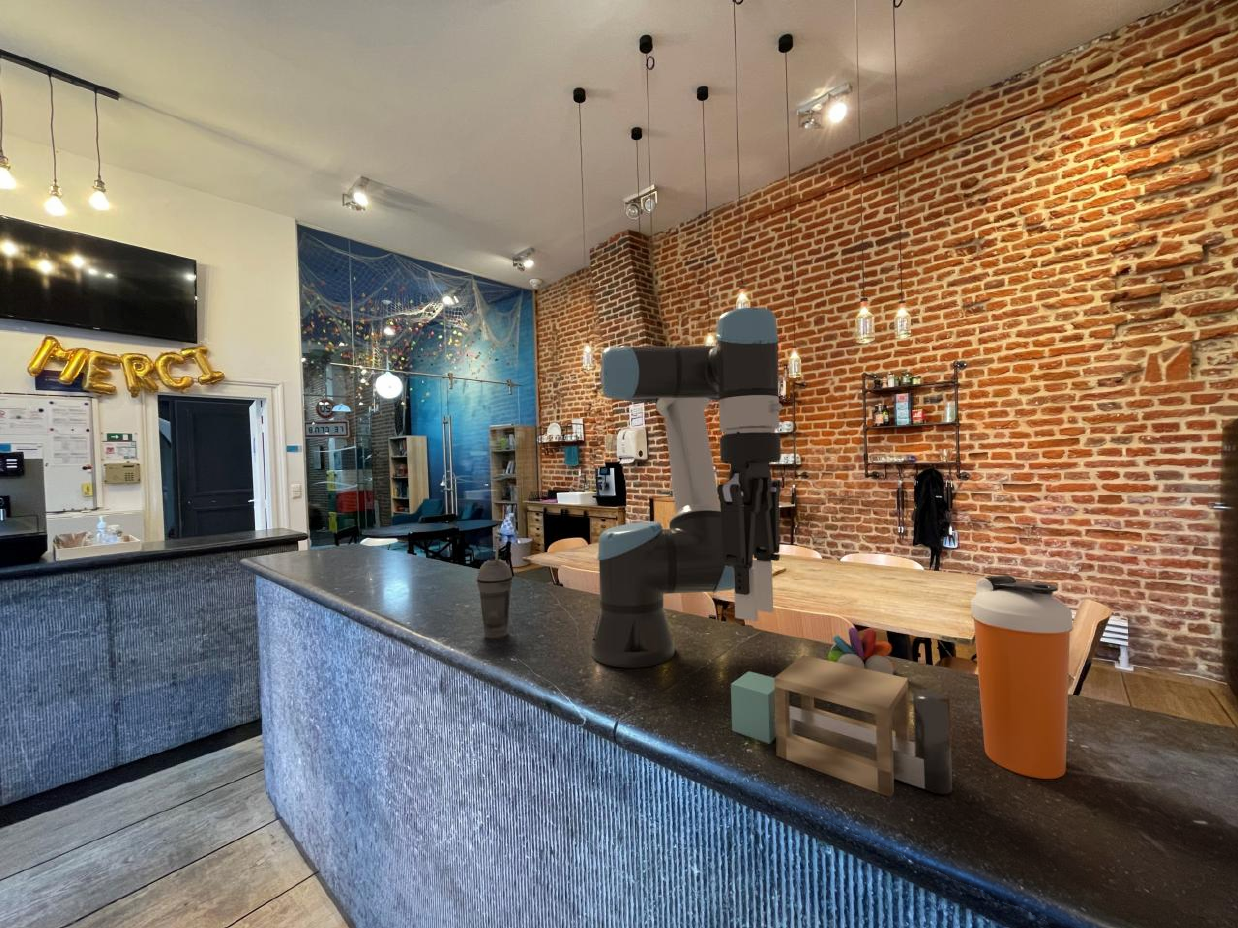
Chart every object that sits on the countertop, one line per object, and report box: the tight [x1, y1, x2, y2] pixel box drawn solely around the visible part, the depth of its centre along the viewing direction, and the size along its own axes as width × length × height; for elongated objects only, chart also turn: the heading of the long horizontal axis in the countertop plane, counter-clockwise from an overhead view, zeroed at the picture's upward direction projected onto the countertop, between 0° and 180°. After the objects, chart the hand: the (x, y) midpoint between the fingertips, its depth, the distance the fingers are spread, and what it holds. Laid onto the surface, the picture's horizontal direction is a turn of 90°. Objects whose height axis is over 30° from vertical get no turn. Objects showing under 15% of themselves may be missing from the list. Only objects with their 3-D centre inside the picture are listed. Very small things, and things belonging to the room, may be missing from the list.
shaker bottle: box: [970, 575, 1073, 780], centre depth 57 cm, size 9×9×20 cm
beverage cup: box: [476, 537, 514, 639], centre depth 105 cm, size 7×7×20 cm
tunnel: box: [773, 654, 911, 798], centre depth 58 cm, size 12×9×9 cm
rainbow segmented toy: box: [827, 627, 895, 675], centre depth 81 cm, size 8×10×7 cm
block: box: [730, 670, 776, 745], centre depth 65 cm, size 5×5×6 cm
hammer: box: [772, 689, 953, 795], centre depth 57 cm, size 18×3×9 cm, turn 49°
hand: (754, 614), depth 65 cm, fingers open, 4 cm apart
